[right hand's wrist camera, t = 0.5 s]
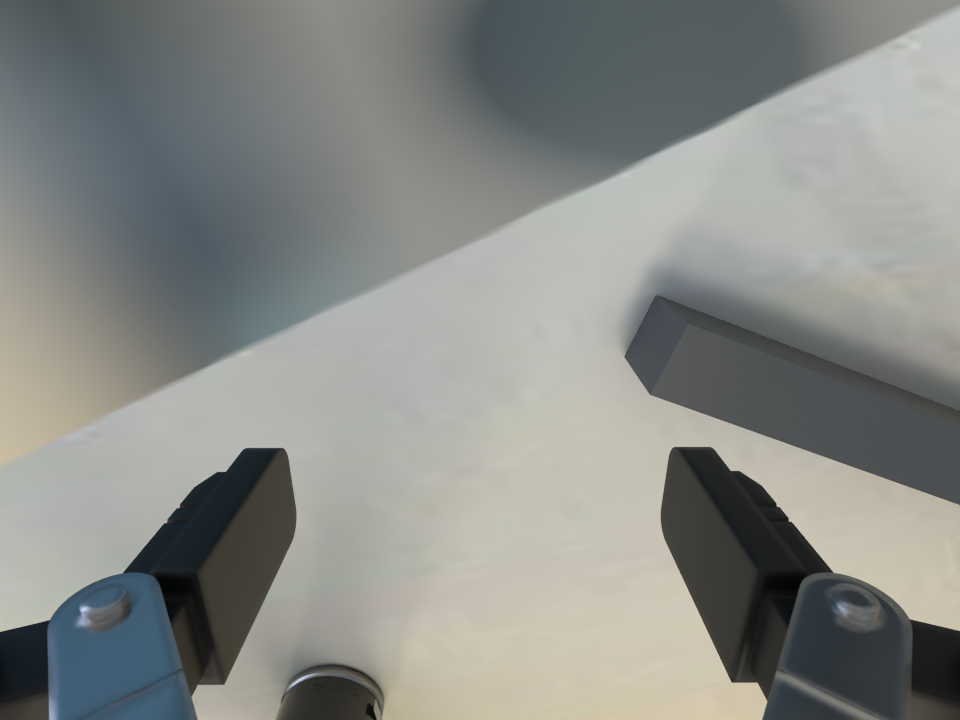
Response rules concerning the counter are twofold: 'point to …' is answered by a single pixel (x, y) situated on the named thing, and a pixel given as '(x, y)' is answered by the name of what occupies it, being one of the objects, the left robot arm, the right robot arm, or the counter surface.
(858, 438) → the post
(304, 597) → the counter surface
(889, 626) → the right robot arm
